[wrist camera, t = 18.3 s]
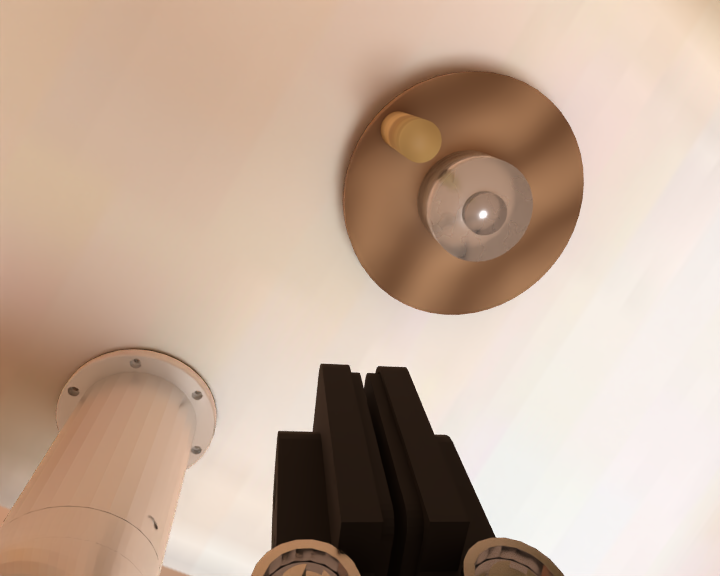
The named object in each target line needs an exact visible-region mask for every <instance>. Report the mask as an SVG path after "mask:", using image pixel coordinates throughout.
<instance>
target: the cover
mask: <svg viewBox="0 0 720 576" xmlns="http://www.w3.org/2000/svg"><path fill="white" fill-rule="evenodd" d="M417 203H418V212H419V216H420V219H421V221H422V223H423V225H424V226H425V228H426V229H427V230H428V231H429V233H430V234H431V235H432V236H433V237H434V238H435V239H436V240H437V242H438V243H439V244H440V245H441V246H442V247H443V248H444V249H445V250H446V251H447V252H448V253H450V254H451V255H453V256H455V257H457V258H459V259H462V260H465V261H472V262H479V261H486V260H491V259H494V258H496V257H499V256H501V255H502V254H504V253H506V252H507V251H509V250H510V249H511V248H512V247H514V246H515V245H516V244H517V242H518V241H519V240H520V239H521V238H522V236H523V235H524V233H525V231H526V230H527V227H528V225H529V223H530V220H531V216H532V211H533V198H532V192H531V189H530V186H529V184H528V182H527V180H526V178H525V177H524V175H523V174H522V173H521V172H520V171H519V170H518V169H517V168H516V167H514V166H513V165H511V164H509V163H507V162H505V161H503V160H500V159H498V158H495V157H493V156H490V155H488V154H485V153H482V152H479V151H474V150H464V151H458V152H454V153H451V154H449V155H447V156H445V157H443V158H442V159H440V160H439V161H437V162H436V163H435V164H434V165H433V166H432V167H431V168H430V169H429V171H428V172H427V173H426V175H425V177H424V178H423V180H422V183H421V185H420V188H419V192H418V200H417Z"/></svg>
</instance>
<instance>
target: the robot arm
mask: <svg viewBox="0 0 720 576" xmlns="http://www.w3.org/2000/svg"><path fill="white" fill-rule="evenodd" d="M136 359H138V360H139V361H138V360H136ZM198 391H200V392H198ZM56 420H57V427H58V430H59V434H58V436H57V437H56V439H55V441H54V442H53V444H52V445H51V447H50V449H49V450H48V452H47V453H46V455H45V456H44V458H43V460H42V461H41V463H40V464H39V466H38V468H37V469H36V471H35V472H34V474H33V476H32V477H31V479H30V480H29V482H28V483H27V485H26V487H25V488H24V490H23V491H22V493H21V495H20V496H19V498H18V499H17V501H16V503H15V504H14V506H13V507H12V509H11V510H10V512H9V514H8V515H7V517H6V518H5V520H4V522H3V524H2V525H1V526H0V576H159V575H160V571H161V567H162V563H163V559H164V555H165V551H166V547H167V543H168V539H169V535H170V531H171V527H172V523H173V519H174V515H175V511H176V507H177V503H178V499H179V495H180V491H181V487H182V483H183V479H184V475H185V471H186V469H188V468H189V467H191V466H192V465H194V464H195V463H196V462H197V461H198V460H199V459H200V458H201V457H202V456H203V455H204V453H205V452H206V450H207V449H208V447H209V446H210V443H211V441H212V438H213V436H214V432H215V427H216V407H215V402H214V399H213V396H212V394H211V392H210V390H209V388H208V386H207V385H206V384H205V382H204V381H203V380H202V378H201V377H200V376H199V375H198V374H197V373H196V372H194V371H193V370H192V369H191V368H190V367H188V366H187V365H185V364H184V363H182V362H181V361H179V360H177V359H174V358H172V357H170V356H167V355H165V354H161V353H157V352H153V351H148V350H136V349H132V350H119V351H115V352H111V353H107V354H103V355H101V356H99V357H97V358H94V359H92V360H90V361H89V362H87V363H86V364H84V365H83V366H82V367H80V368H79V369H78V370H77V371H76V372H75V373H74V374H73V375H72V377H71V378H70V379H69V380H68V382H67V383H66V385H65V386H64V388H63V389H62V392H61V394H60V397H59V399H58V403H57V409H56ZM251 576H564V575H563V573H562V572H561V571H560V570H559V569H558V567H557V566H556V565H555V564H554V563H553V562H552V561H551V560H550V559H549V558H548V557H547V556H545V555H544V554H542V553H541V552H540V551H538V550H537V549H535V548H533V547H531V546H529V545H527V544H525V543H523V542H521V541H517V540H512V539H508V538H496V537H495V535H494V533H493V530H492V528H491V526H490V524H489V522H488V519H487V517H486V515H485V513H484V510H483V508H482V506H481V504H480V502H479V499H478V497H477V495H476V493H475V491H474V488H473V486H472V484H471V482H470V479H469V477H468V475H467V473H466V471H465V468H464V466H463V464H462V462H461V460H460V457H459V455H458V453H457V451H456V448H455V446H454V444H453V442H452V440H451V439H450V437H449V436H447V435H434V433H433V430H432V428H431V425H430V423H429V420H428V418H427V415H426V413H425V411H424V408H423V406H422V403H421V401H420V398H419V396H418V394H417V391H416V389H415V386H414V384H413V381H412V379H411V376H410V374H409V372H408V369H407V368H406V367H386V366H378V367H377V369H376V373H367V375H366V379H365V385H364V388H363V384H362V380H361V375H360V373H353V372H351V370H350V366H349V365H339V364H321V365H320V369H319V377H318V386H317V396H316V405H315V415H314V424H313V432H294V431H278V436H277V448H276V461H275V474H274V491H273V513H272V546H271V550H270V551H268V552H267V553H266V554H265V555H264V556H263V557H262V558H261V559H260V560H259V562H258V563H257V564H256V566H255V568H254V570H253V573H252V575H251Z"/></svg>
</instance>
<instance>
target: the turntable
mask: <svg viewBox="0 0 720 576" xmlns="http://www.w3.org/2000/svg"><path fill="white" fill-rule="evenodd" d="M464 150H474V151H479V152H482V153H485V154H488V155H490V156H493V157H495V158H498V159H500V160H503V161H505V162H507V163H509V164H511V165H513V166H514V167H516V168H517V169H518V170H519V171H520V172H521V173H522V174H523V175H524V177H525V178H526V180H527V182H528V184H529V186H530V189H531V192H532V198H533V211H532V216H531V220H530V223H529V225H528V227H527V230H526V231H525V233H524V235H523V236H522V238H521V239H520V240H519V241H518V242H517V244H516V245H515V246H514V247H512V248H511V249H510V250H509V251H507V252H506V253H504V254H502V255H501V256H499V257H496V258H494V259H491V260H486V261H479V262H472V261H465V260H462V259H459V258H457V257H455V256H453V255H451V254H450V253H448V252H447V251H446V250H445V249H444V248H443V247H442V246H441V245H440V244H439V243H438V242H437V240H436V239H435V238H434V237H433V236H432V235H431V234H430V233H429V231H428V230H427V229H426V228H425V226H424V225H423V223H422V221H421V219H420V216H419V212H418V203H417V200H418V192H419V188H420V185H421V183H422V180H423V178H424V177H425V175H426V173H427V172H428V171H429V169H430V168H431V167H432V166H433V165H434V164H435V163H436V162H437V161H439V160H440V159H442V158H443V157H445V156H447V155H449V154H451V153H454V152H458V151H464ZM583 186H584V179H583V165H582V159H581V153H580V150H579V147H578V144H577V141H576V138H575V136H574V134H573V131H572V129H571V127H570V125H569V123H568V122H567V120H566V119H565V118H564V116H563V115H562V113H561V112H560V110H559V109H558V108H557V107H556V106H555V105H554V104H553V103H552V102H551V101H550V100H549V99H548V98H547V97H546V96H544V95H543V94H542V93H541V92H539V91H538V90H537V89H535V88H533V87H531V86H530V85H528V84H526V83H524V82H522V81H520V80H517V79H514V78H512V77H509V76H505V75H501V74H496V73H489V72H458V73H450V74H446V75H441V76H437V77H434V78H431V79H428V80H426V81H423V82H420V83H419V84H417V85H415V86H413V87H411V88H409V89H407V90H406V91H404V92H403V93H401V94H400V95H399V96H397V97H396V98H394V99H393V100H392V101H391V102H389V103H388V104H387V105H386V106H385V107H384V108H383V109H382V110H381V111H380V112H379V113H378V114H377V115H376V117H375V118H374V119H373V120H372V121H371V123H370V124H369V125H368V126H367V128H366V130H365V131H364V133H363V134H362V136H361V138H360V139H359V141H358V143H357V145H356V147H355V150H354V152H353V154H352V156H351V160H350V163H349V166H348V169H347V173H346V178H345V184H344V196H343V207H344V218H345V223H346V228H347V232H348V235H349V238H350V241H351V243H352V246H353V249H354V251H355V254H356V255H357V257H358V259H359V261H360V263H361V265H362V266H363V268H364V269H365V271H366V272H367V273H368V275H369V276H370V277H371V278H372V280H373V281H374V282H375V283H376V284H377V285H378V286H379V287H380V288H381V289H383V290H384V291H385V292H386V293H388V294H389V295H390V296H392V297H393V298H395V299H397V300H398V301H400V302H402V303H404V304H406V305H408V306H411V307H413V308H416V309H419V310H422V311H426V312H430V313H437V314H444V315H460V314H468V313H475V312H479V311H483V310H488V309H490V308H493V307H496V306H498V305H501V304H503V303H505V302H507V301H509V300H511V299H513V298H515V297H517V296H518V295H520V294H521V293H523V292H524V291H526V290H527V289H529V288H530V287H531V286H532V285H533V284H535V283H536V282H537V281H538V280H539V279H540V278H541V277H542V276H543V275H544V274H545V273H546V272H547V271H548V270H549V269H550V268H551V267H552V265H553V264H554V263H555V262H556V260H557V259H558V258H559V256H560V255H561V253H562V252H563V250H564V248H565V247H566V245H567V243H568V241H569V239H570V237H571V235H572V233H573V231H574V228H575V225H576V222H577V219H578V216H579V213H580V208H581V203H582V197H583Z"/></svg>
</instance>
